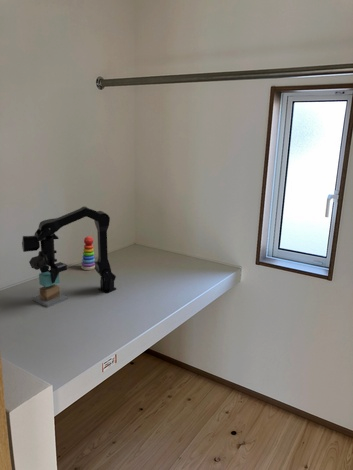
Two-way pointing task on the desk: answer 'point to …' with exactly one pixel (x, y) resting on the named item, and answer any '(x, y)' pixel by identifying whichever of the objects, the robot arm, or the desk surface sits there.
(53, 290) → the walnut brick
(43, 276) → the teal brick
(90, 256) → the stacking toy
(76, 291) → the desk surface
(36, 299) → the baseplate
